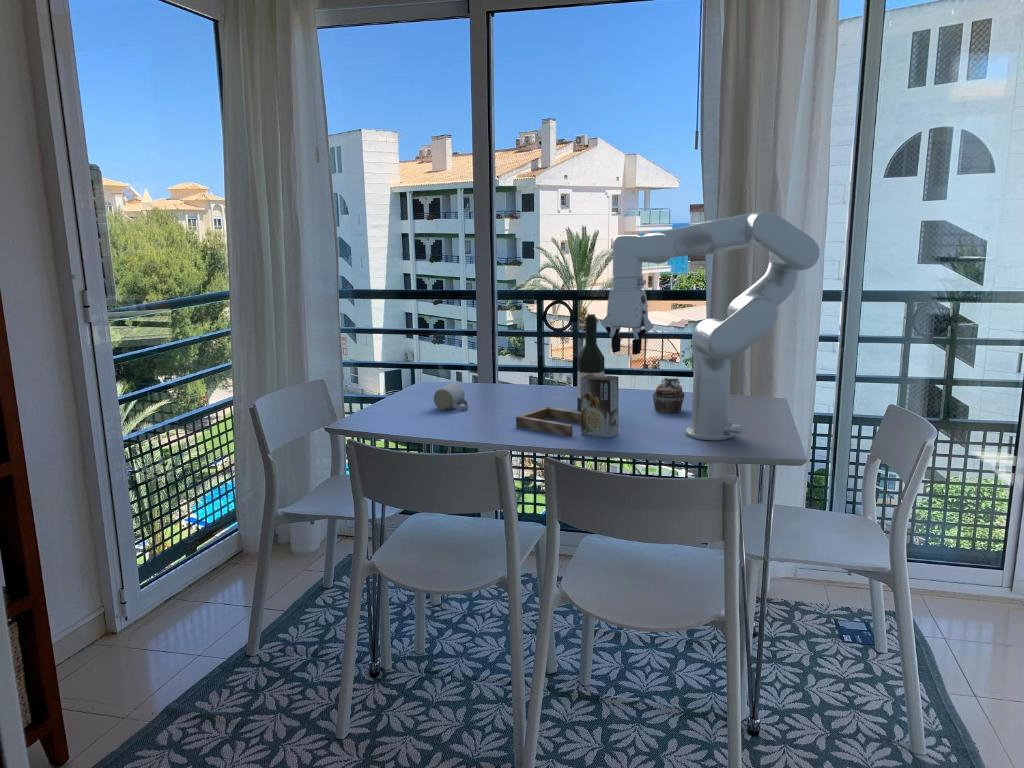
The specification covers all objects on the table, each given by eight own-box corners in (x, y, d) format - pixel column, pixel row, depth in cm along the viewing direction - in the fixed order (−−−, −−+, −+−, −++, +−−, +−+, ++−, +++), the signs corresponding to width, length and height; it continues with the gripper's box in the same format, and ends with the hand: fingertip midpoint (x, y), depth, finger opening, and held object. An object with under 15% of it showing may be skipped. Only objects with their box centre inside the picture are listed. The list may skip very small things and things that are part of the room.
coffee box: (619, 432, 206) (620, 376, 203) (610, 438, 201) (611, 380, 197) (589, 429, 210) (589, 373, 207) (579, 434, 205) (579, 377, 202)
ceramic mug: (432, 410, 236) (431, 386, 235) (445, 404, 244) (444, 381, 242) (461, 413, 232) (461, 389, 230) (473, 407, 239) (473, 384, 238)
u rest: (598, 425, 214) (598, 415, 214) (569, 436, 203) (569, 426, 202) (546, 416, 226) (546, 406, 225) (516, 426, 214) (515, 416, 214)
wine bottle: (602, 413, 228) (603, 315, 222) (575, 412, 230) (575, 315, 224) (605, 407, 236) (605, 312, 230) (578, 406, 238) (578, 312, 232)
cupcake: (651, 406, 236) (652, 375, 234) (682, 407, 234) (683, 376, 232) (652, 414, 227) (653, 381, 225) (685, 414, 225) (686, 382, 223)
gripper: (663, 283, 190) (662, 353, 194) (606, 281, 200) (605, 348, 204) (649, 285, 184) (648, 357, 188) (591, 283, 195) (590, 352, 198)
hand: (626, 352), depth 196 cm, fingers open, 5 cm apart
